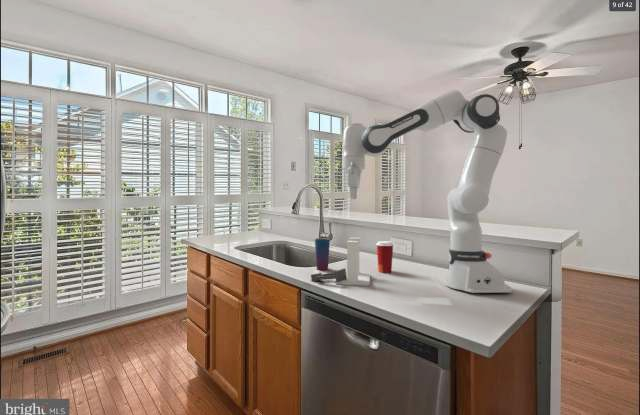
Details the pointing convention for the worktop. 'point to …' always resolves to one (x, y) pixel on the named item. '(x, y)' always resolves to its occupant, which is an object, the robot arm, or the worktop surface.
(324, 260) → the cup
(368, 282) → the white post stand
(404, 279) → the worktop surface
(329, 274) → the loop
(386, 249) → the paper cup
